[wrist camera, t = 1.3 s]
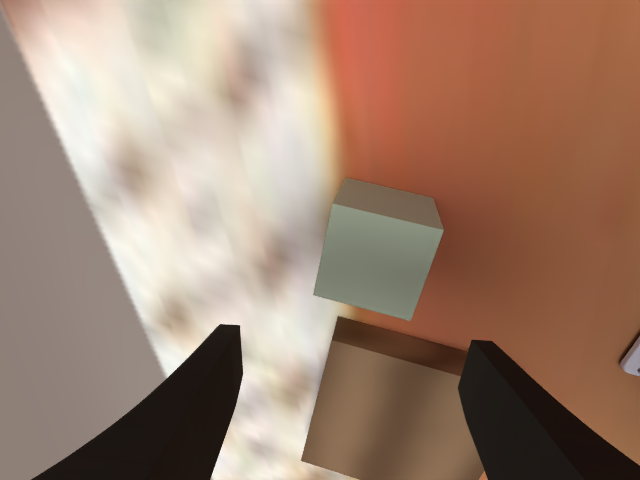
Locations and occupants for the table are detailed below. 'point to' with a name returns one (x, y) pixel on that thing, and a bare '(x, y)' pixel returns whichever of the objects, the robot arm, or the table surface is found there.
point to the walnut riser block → (391, 409)
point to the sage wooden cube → (378, 248)
